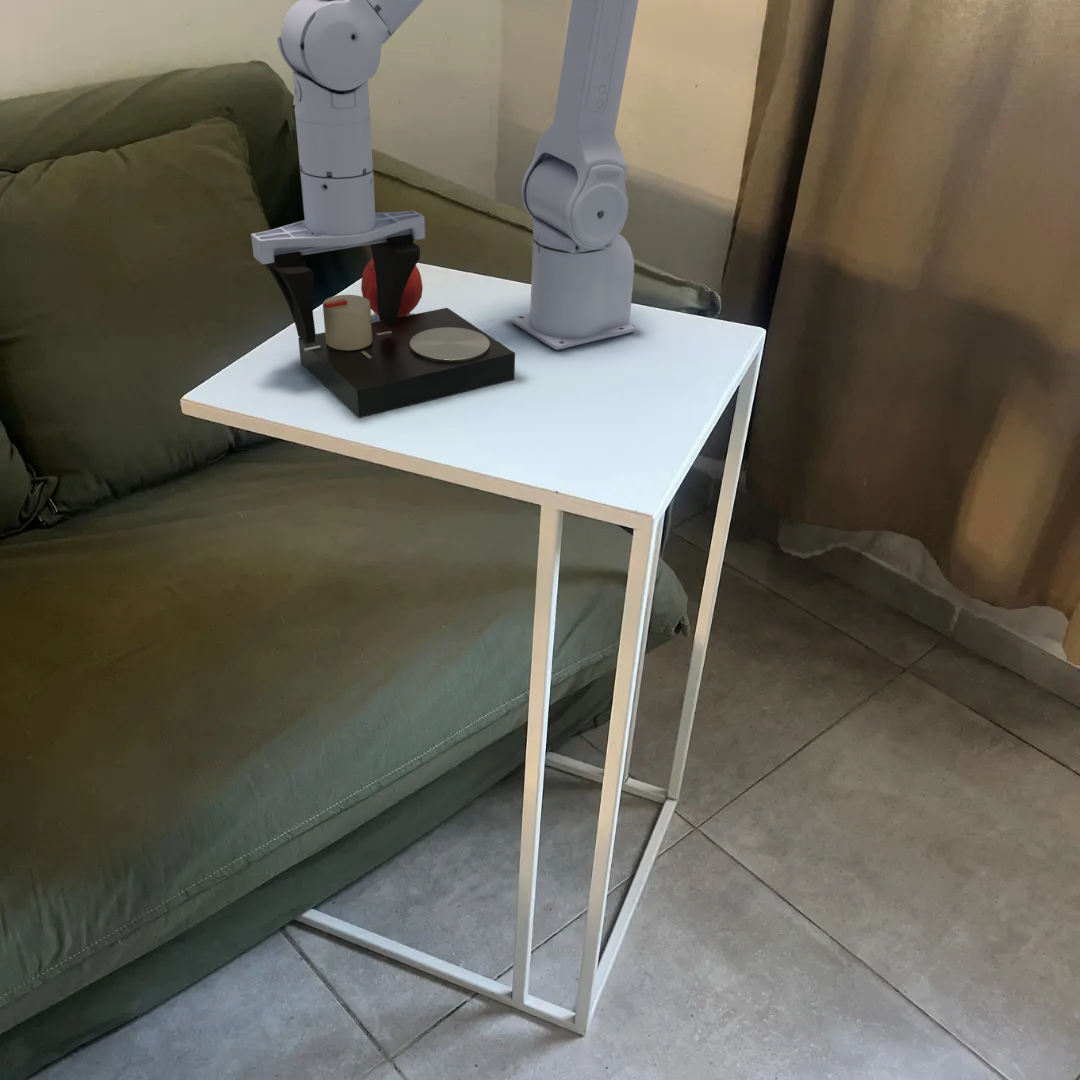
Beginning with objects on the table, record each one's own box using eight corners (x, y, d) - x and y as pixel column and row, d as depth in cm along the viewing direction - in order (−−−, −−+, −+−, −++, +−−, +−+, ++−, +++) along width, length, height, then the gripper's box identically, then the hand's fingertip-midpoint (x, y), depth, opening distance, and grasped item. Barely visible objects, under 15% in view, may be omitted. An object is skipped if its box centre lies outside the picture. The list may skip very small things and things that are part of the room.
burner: (464, 325, 93) (464, 321, 92) (505, 352, 88) (505, 349, 88) (395, 339, 89) (395, 336, 89) (434, 369, 85) (434, 365, 84)
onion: (412, 337, 96) (410, 254, 92) (354, 330, 97) (349, 248, 92) (430, 315, 101) (428, 235, 96) (375, 308, 102) (370, 229, 97)
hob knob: (360, 329, 91) (357, 288, 89) (380, 344, 88) (378, 303, 86) (318, 337, 89) (314, 296, 87) (337, 354, 86) (334, 311, 84)
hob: (441, 328, 98) (441, 301, 97) (514, 379, 89) (515, 351, 88) (289, 360, 91) (286, 332, 89) (352, 419, 82) (350, 389, 80)
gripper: (395, 148, 86) (401, 301, 94) (230, 167, 80) (250, 330, 87) (435, 168, 82) (438, 327, 89) (263, 189, 75) (282, 359, 82)
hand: (348, 330), depth 88 cm, fingers open, 7 cm apart
